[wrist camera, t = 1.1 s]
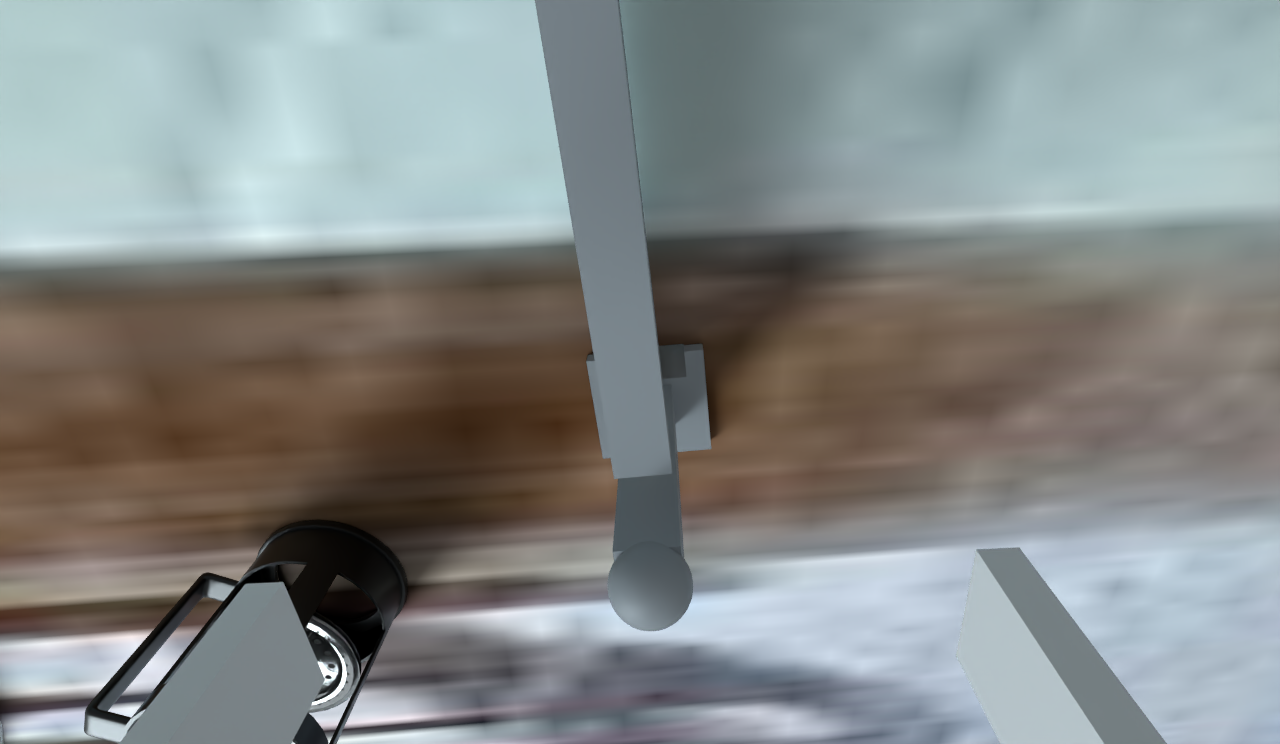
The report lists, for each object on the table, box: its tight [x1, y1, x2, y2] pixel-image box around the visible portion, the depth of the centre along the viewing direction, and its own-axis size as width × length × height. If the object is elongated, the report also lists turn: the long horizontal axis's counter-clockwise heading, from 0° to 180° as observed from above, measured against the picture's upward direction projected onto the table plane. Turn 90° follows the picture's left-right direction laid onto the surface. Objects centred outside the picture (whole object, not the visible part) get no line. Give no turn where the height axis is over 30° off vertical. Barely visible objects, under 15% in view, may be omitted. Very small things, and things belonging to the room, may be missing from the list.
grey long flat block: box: [535, 0, 687, 479], centre depth 23 cm, size 23×3×9 cm, turn 7°
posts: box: [586, 344, 711, 631], centre depth 22 cm, size 34×6×15 cm, turn 7°
